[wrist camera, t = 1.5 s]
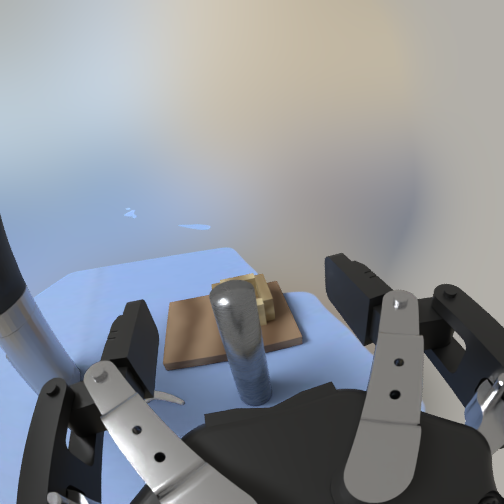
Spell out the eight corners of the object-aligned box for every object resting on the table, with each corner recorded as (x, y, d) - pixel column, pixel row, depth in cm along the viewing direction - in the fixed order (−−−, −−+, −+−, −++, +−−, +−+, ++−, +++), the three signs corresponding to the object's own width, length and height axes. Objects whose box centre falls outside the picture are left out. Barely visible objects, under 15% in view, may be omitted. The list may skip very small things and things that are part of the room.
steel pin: (242, 408, 29) (210, 311, 22) (237, 384, 33) (208, 284, 25) (274, 401, 30) (258, 301, 22) (268, 377, 33) (250, 276, 26)
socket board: (166, 370, 36) (152, 344, 33) (172, 308, 49) (163, 284, 47) (302, 343, 38) (301, 315, 35) (277, 287, 51) (274, 261, 48)
